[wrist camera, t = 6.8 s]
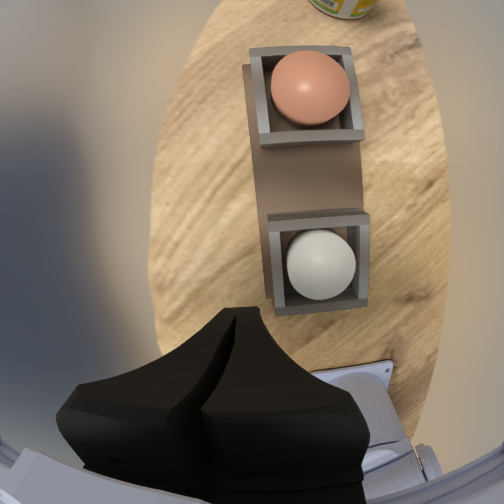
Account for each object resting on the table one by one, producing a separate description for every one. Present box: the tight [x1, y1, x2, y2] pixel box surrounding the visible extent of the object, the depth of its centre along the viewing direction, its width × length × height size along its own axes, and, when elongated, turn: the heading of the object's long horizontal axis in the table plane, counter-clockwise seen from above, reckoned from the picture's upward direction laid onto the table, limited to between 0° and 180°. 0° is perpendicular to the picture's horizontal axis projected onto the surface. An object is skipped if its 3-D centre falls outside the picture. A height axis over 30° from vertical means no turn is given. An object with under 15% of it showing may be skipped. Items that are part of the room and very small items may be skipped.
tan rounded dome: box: [271, 50, 350, 128], centre depth 13 cm, size 4×4×2 cm
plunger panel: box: [242, 46, 370, 316], centre depth 17 cm, size 16×7×4 cm, turn 6°
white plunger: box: [285, 228, 356, 300], centre depth 17 cm, size 4×4×2 cm
